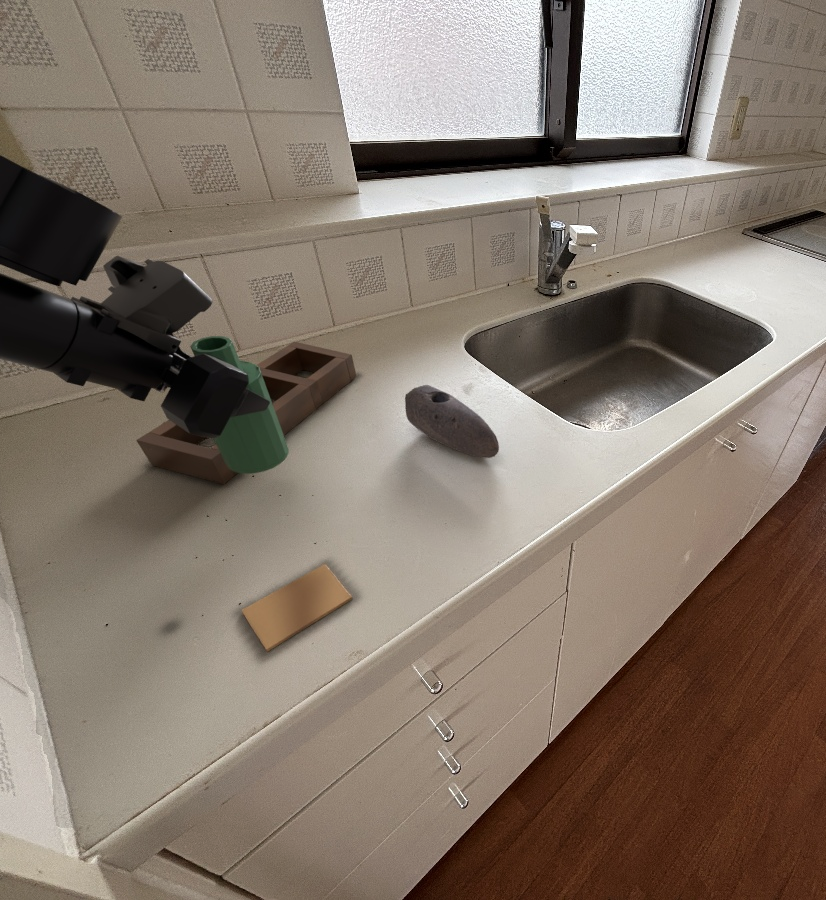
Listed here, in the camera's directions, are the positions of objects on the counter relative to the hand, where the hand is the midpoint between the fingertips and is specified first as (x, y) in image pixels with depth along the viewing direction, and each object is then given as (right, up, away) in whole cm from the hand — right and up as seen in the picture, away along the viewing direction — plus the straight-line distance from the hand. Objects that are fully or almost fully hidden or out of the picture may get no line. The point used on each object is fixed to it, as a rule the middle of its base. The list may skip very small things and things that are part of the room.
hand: (248, 394), depth 52 cm
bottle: (-2, -7, +4) cm, 8 cm away
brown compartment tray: (-10, -1, +19) cm, 21 cm away
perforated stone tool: (+17, -5, +19) cm, 25 cm away
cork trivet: (+7, -21, -3) cm, 23 cm away
